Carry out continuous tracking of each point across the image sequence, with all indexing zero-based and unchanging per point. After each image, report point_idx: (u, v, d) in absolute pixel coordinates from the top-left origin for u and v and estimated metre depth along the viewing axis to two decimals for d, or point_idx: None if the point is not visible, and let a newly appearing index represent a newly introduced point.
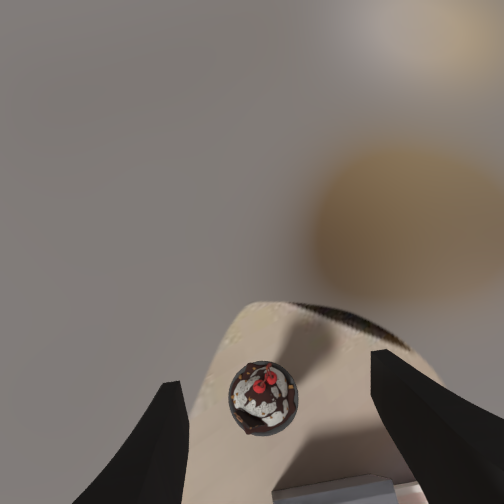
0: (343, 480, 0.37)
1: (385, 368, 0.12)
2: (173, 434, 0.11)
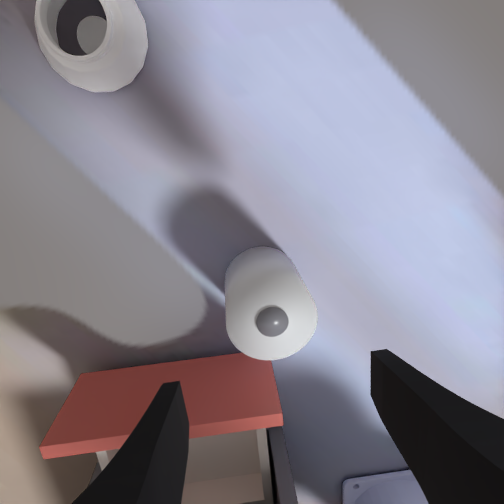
0: None
1: (385, 368, 0.12)
2: (173, 434, 0.11)
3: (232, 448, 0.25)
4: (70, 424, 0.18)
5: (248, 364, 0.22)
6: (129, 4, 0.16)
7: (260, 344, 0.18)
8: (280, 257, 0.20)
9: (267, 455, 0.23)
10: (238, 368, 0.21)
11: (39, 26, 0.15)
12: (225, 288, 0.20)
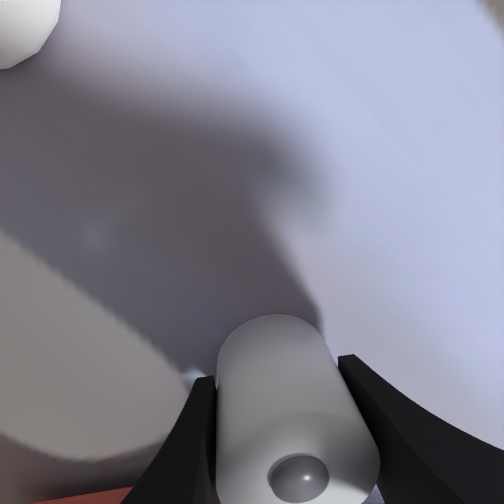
0: None
1: (349, 374, 0.12)
2: (212, 428, 0.11)
3: None
4: None
5: None
6: None
7: None
8: (305, 339, 0.12)
9: None
10: None
11: None
12: None
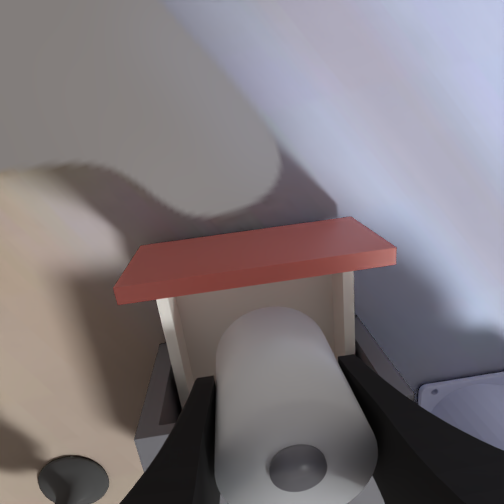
0: None
1: (349, 374, 0.12)
2: (212, 428, 0.11)
3: None
4: (143, 272, 0.16)
5: (333, 225, 0.19)
6: None
7: (273, 500, 0.10)
8: (308, 332, 0.12)
9: (353, 334, 0.20)
10: (323, 228, 0.19)
11: None
12: (216, 379, 0.12)
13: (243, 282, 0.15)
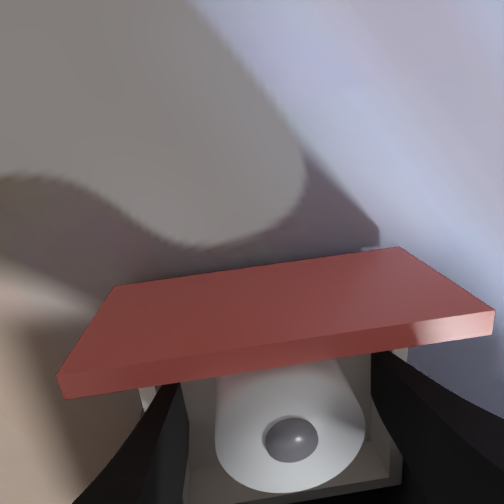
0: None
1: (385, 368, 0.12)
2: (173, 434, 0.11)
3: None
4: (108, 342, 0.10)
5: (380, 262, 0.14)
6: None
7: (269, 471, 0.11)
8: None
9: None
10: (367, 266, 0.13)
11: None
12: None
13: (258, 363, 0.10)
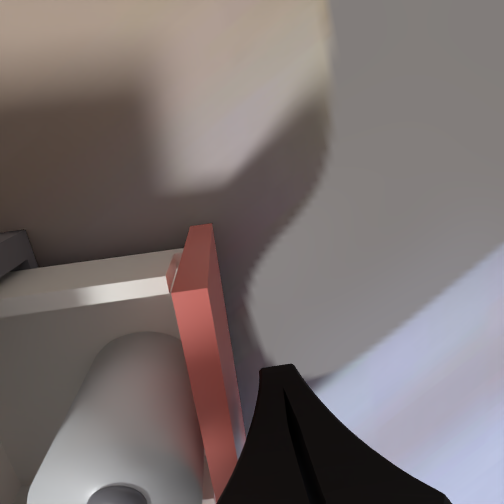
0: None
1: None
2: None
3: None
4: (214, 303, 0.09)
5: None
6: None
7: (64, 495, 0.09)
8: None
9: None
10: None
11: None
12: (147, 362, 0.12)
13: (217, 467, 0.10)
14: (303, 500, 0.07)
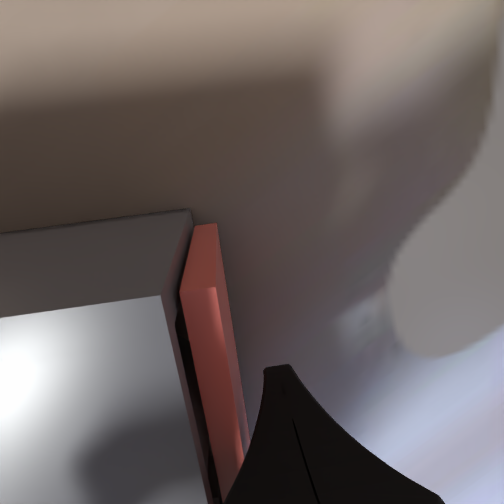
0: (84, 232, 0.12)
1: None
2: None
3: None
4: (221, 302, 0.09)
5: None
6: None
7: None
8: None
9: None
10: None
11: None
12: None
13: (224, 466, 0.10)
14: (311, 499, 0.07)
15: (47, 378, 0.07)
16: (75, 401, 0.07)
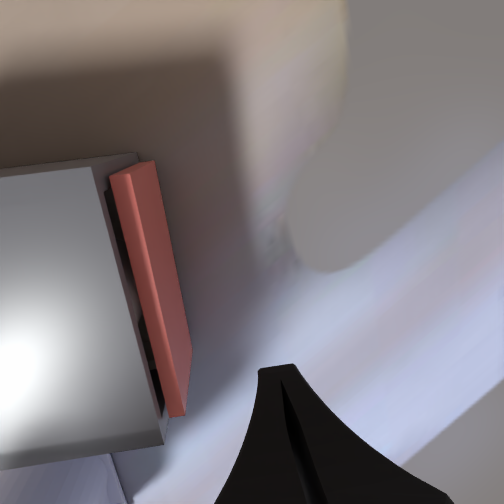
0: (60, 162, 0.17)
1: (281, 384, 0.12)
2: None
3: None
4: (142, 194, 0.15)
5: (187, 343, 0.21)
6: None
7: None
8: None
9: None
10: (185, 336, 0.21)
11: None
12: None
13: (145, 298, 0.15)
14: (300, 500, 0.07)
15: (31, 215, 0.13)
16: (46, 231, 0.13)
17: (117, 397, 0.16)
